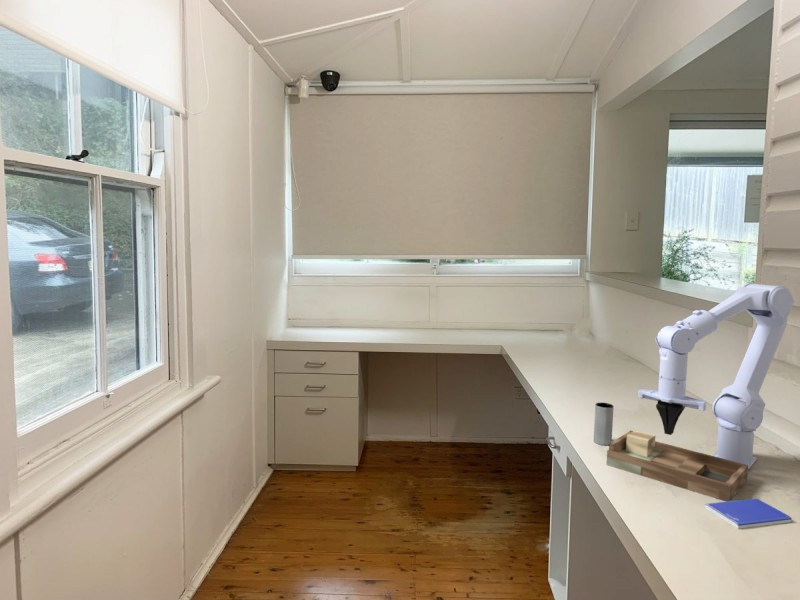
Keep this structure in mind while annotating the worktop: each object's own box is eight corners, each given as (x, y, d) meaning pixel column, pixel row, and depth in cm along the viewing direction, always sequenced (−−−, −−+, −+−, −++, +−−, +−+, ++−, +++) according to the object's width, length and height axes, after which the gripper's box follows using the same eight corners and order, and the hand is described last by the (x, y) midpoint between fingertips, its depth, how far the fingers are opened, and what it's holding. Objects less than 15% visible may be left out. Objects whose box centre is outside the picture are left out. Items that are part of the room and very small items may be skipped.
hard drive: (738, 523, 101) (792, 517, 104) (704, 502, 109) (755, 497, 112) (737, 531, 101) (791, 524, 104) (704, 510, 109) (754, 504, 112)
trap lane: (631, 448, 140) (632, 429, 139) (747, 480, 122) (748, 458, 121) (606, 464, 129) (607, 444, 129) (729, 502, 111) (731, 479, 111)
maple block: (633, 445, 136) (634, 430, 136) (654, 451, 133) (655, 435, 132) (625, 450, 133) (626, 435, 132) (646, 456, 129) (647, 440, 129)
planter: (593, 444, 143) (595, 406, 141) (593, 438, 147) (595, 401, 146) (611, 446, 141) (613, 408, 140) (611, 440, 145) (613, 403, 144)
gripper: (634, 374, 129) (631, 429, 130) (701, 386, 118) (697, 446, 120) (645, 369, 134) (642, 422, 135) (710, 380, 123) (706, 437, 125)
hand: (668, 433), depth 128 cm, fingers closed
